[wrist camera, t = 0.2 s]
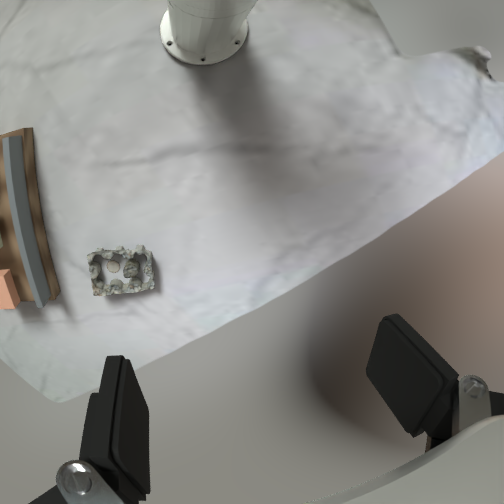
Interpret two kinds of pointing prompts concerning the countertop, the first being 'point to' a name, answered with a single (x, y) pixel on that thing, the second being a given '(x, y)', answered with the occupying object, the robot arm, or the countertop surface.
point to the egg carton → (129, 271)
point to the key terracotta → (8, 291)
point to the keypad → (24, 221)
